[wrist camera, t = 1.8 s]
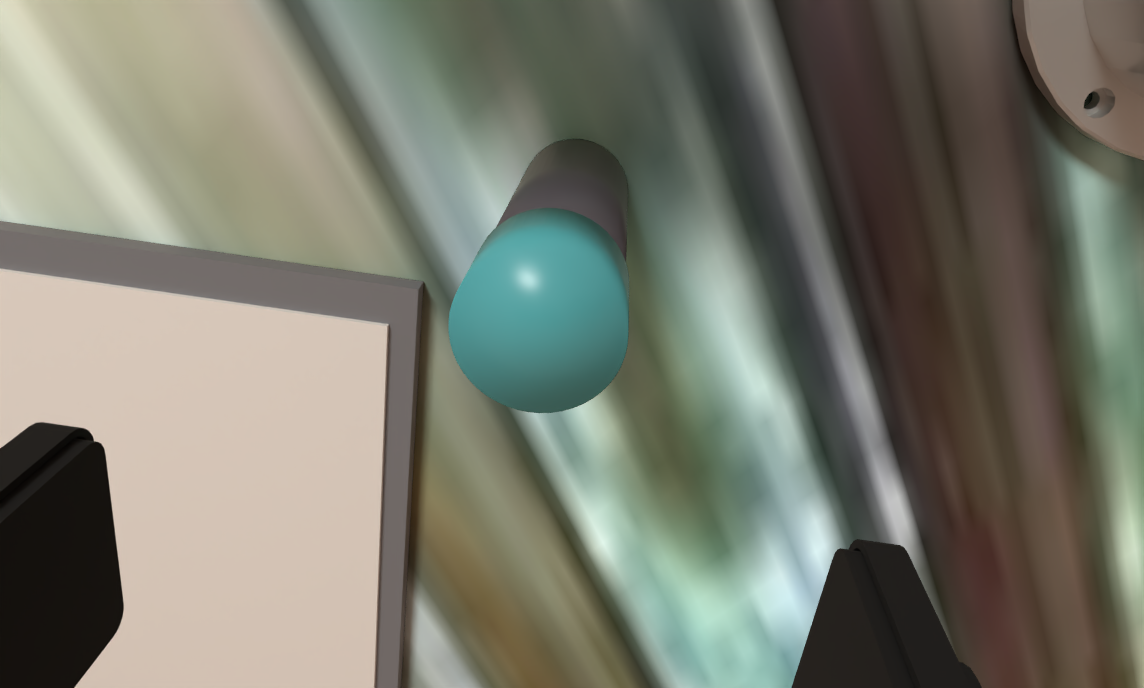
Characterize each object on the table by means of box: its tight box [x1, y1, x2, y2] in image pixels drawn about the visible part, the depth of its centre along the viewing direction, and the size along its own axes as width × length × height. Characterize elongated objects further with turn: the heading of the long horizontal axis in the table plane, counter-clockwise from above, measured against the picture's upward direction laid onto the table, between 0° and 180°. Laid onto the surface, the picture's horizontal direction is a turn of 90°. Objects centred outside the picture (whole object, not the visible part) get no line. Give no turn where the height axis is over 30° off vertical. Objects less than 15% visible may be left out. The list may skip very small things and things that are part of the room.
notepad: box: [0, 221, 423, 688], centre depth 35 cm, size 18×24×1 cm
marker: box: [449, 139, 629, 413], centre depth 23 cm, size 4×4×12 cm
